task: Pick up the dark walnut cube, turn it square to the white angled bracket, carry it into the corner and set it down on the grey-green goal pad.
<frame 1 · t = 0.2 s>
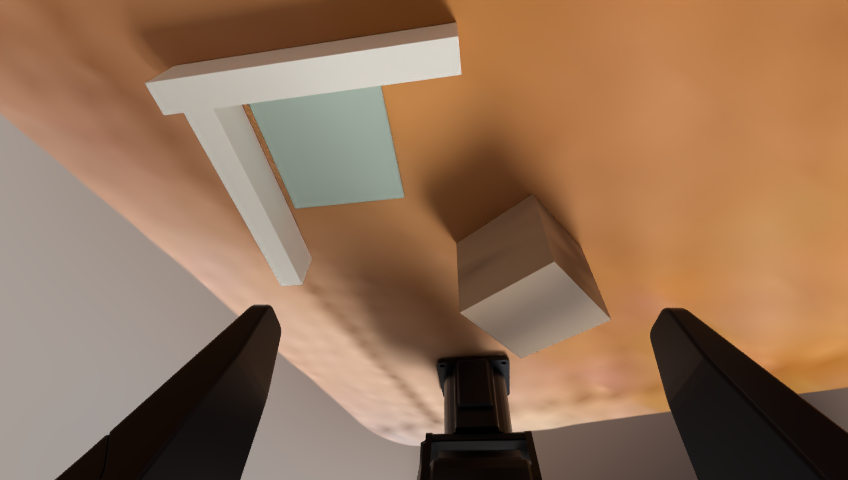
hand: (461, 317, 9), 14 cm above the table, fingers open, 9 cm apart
white angled bracket: (343, 157, 22), on the table
goal pad: (332, 150, 22), on the table
walnut cube: (519, 245, 26), on the table
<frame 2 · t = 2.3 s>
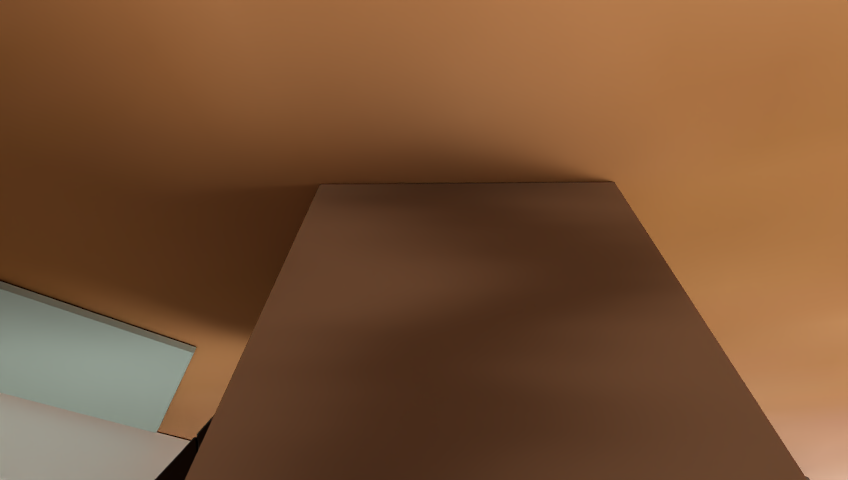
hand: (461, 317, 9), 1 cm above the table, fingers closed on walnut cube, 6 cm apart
white angled bracket: (82, 359, 13), on the table
goal pad: (64, 360, 13), on the table
walnut cube: (460, 284, 10), on the table, touching gripper
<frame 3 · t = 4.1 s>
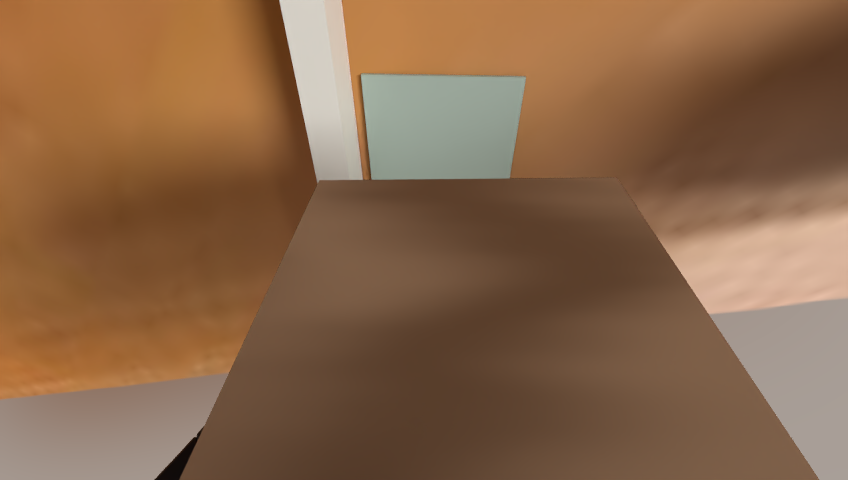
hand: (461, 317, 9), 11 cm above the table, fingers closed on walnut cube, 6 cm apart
white angled bracket: (451, 140, 18), on the table
goal pad: (440, 149, 19), on the table
walnut cube: (461, 282, 10), point 10 cm above the table, touching gripper
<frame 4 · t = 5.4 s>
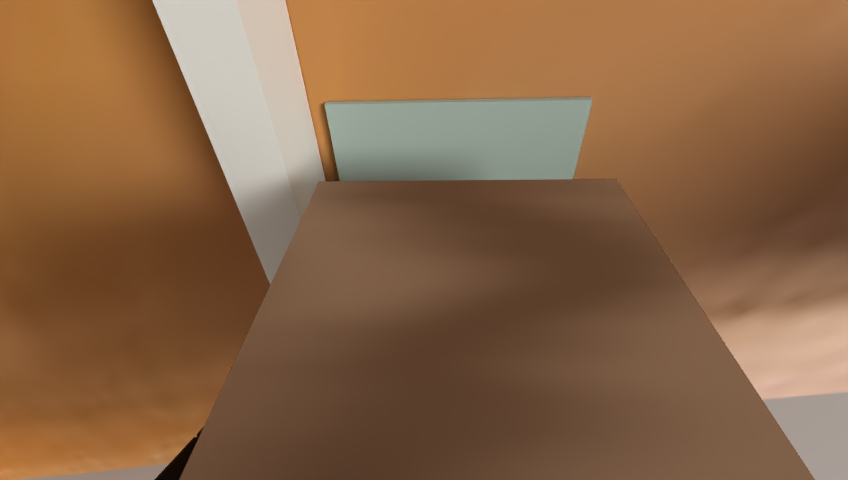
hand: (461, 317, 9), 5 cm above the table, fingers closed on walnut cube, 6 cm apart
white angled bracket: (469, 194, 12), on the table
goal pad: (453, 207, 12), on the table
walnut cube: (460, 283, 10), point 3 cm above the table, touching gripper
when the fingers open (3 cm above the table, at t = 6.2 s): walnut cube drops 2 cm, resting on goal pad.
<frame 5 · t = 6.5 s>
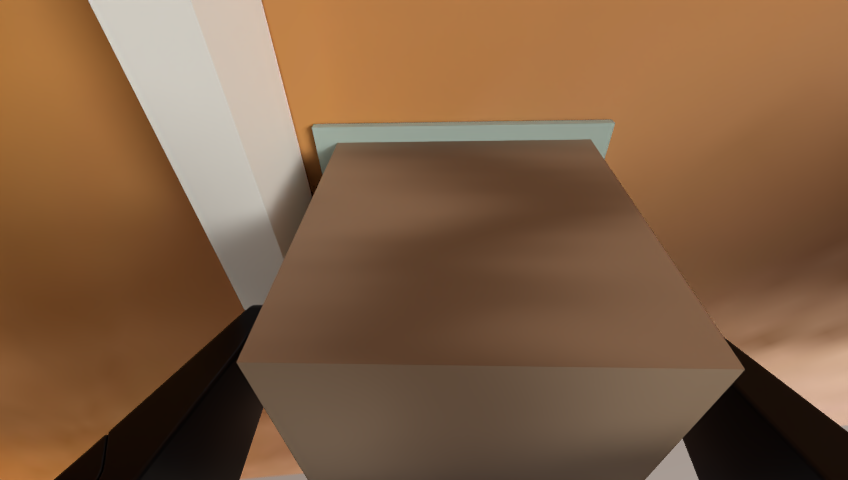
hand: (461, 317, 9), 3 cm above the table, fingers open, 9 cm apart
white angled bracket: (474, 223, 11), on the table
goal pad: (456, 236, 11), on the table
walnut cube: (458, 238, 11), resting on goal pad
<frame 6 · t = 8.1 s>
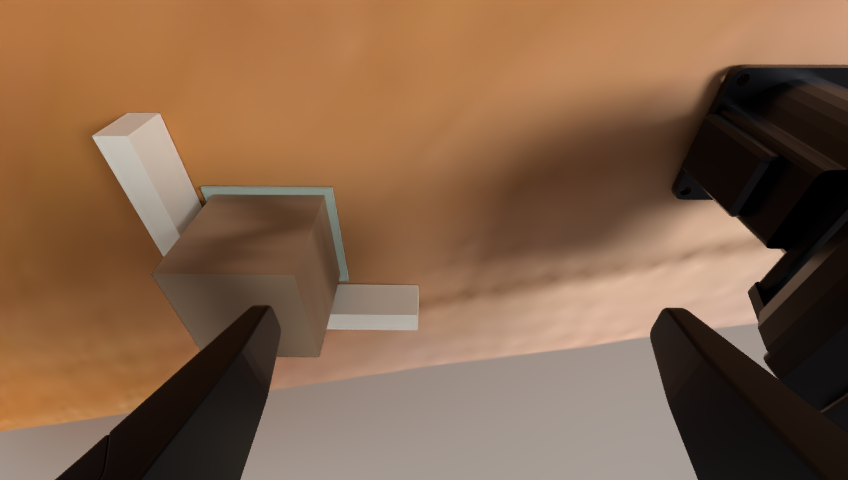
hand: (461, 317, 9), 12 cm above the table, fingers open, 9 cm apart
white angled bracket: (289, 230, 22), on the table
goal pad: (282, 237, 23), on the table
walnut cube: (282, 237, 23), resting on goal pad
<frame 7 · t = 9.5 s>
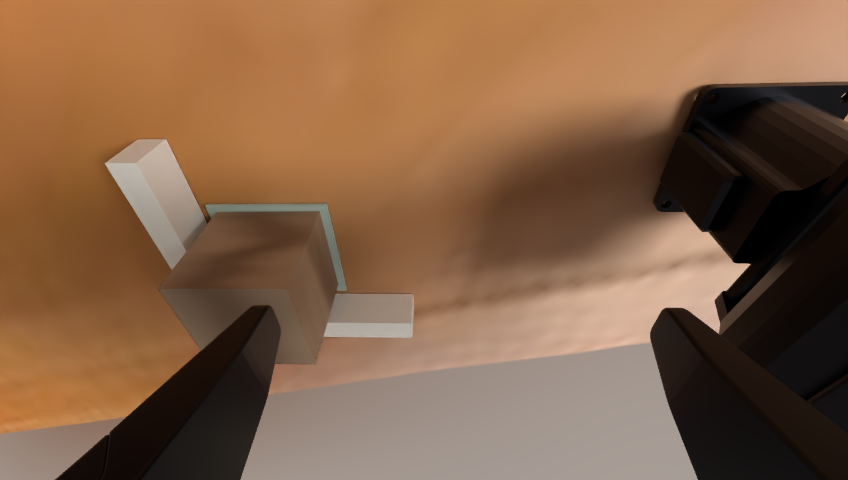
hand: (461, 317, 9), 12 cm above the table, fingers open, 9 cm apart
white angled bracket: (288, 243, 24), on the table
goal pad: (282, 249, 24), on the table
walnut cube: (282, 250, 24), resting on goal pad
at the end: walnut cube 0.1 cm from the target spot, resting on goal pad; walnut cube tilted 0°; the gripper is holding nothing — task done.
